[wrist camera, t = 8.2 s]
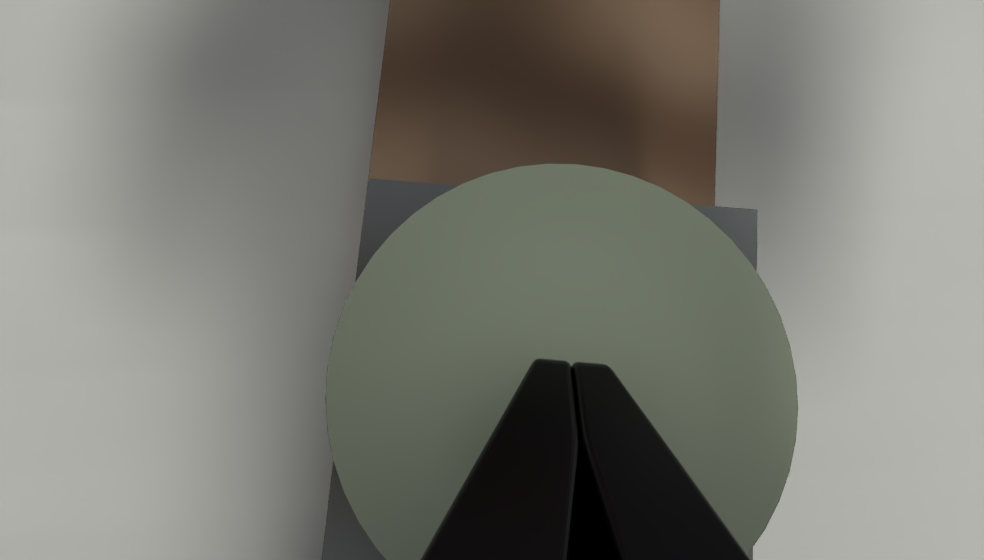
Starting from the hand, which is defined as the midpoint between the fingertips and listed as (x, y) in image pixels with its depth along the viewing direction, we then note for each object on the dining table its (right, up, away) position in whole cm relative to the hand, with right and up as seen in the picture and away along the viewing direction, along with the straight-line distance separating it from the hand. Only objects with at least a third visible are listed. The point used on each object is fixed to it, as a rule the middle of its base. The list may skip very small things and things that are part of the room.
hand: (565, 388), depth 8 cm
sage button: (0, -1, +6) cm, 6 cm away
